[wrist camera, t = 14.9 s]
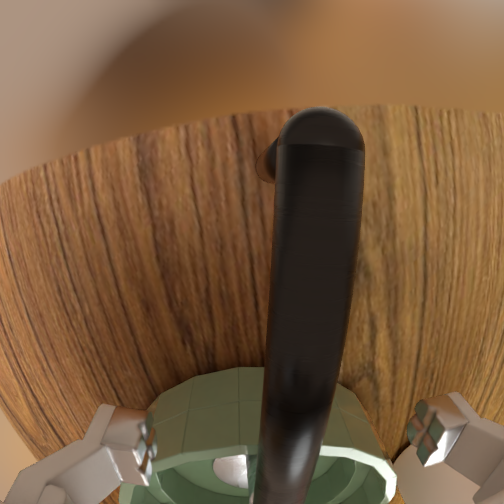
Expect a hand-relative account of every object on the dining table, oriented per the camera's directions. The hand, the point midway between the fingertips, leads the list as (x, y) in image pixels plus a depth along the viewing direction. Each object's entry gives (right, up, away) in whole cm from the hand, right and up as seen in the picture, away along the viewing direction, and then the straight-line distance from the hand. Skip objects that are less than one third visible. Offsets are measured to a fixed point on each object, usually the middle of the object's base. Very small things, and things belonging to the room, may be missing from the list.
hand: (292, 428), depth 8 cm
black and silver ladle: (-1, -1, +10) cm, 10 cm away
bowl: (-1, -10, +13) cm, 16 cm away
